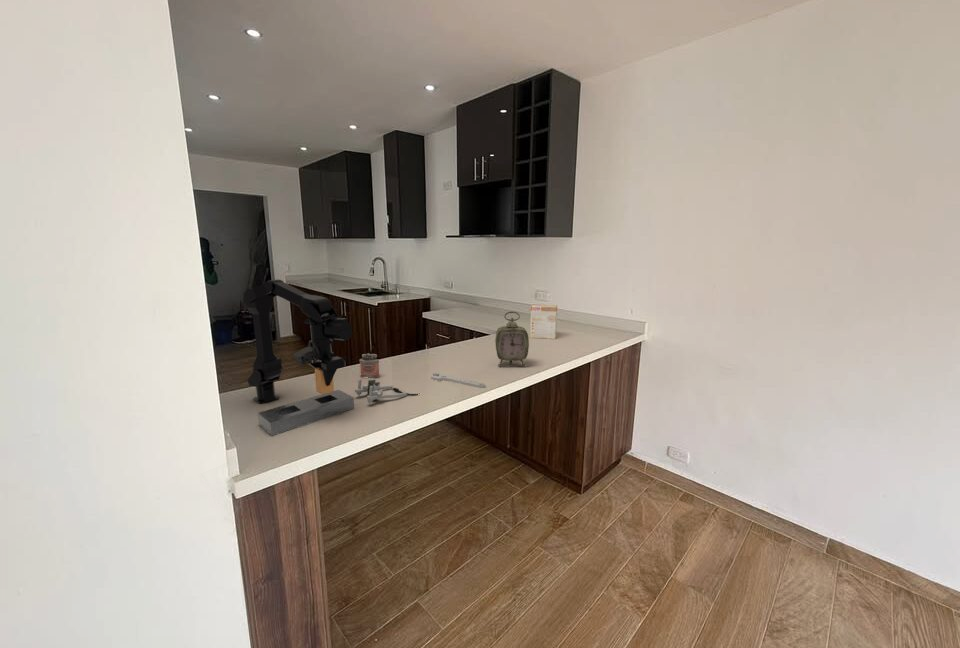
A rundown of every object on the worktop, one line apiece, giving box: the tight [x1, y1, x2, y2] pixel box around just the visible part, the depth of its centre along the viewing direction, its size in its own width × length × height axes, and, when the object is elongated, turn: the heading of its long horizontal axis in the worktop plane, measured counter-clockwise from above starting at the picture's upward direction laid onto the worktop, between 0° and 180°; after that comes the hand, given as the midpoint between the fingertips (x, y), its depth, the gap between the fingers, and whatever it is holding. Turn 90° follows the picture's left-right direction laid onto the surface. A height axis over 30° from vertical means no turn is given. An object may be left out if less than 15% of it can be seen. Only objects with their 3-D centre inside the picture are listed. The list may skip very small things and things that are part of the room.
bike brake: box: [354, 378, 419, 404], centre depth 140 cm, size 14×7×20 cm
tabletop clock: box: [494, 311, 530, 368], centre depth 174 cm, size 14×9×25 cm, turn 91°
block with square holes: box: [257, 389, 355, 436], centre depth 123 cm, size 10×26×4 cm, turn 138°
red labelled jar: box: [359, 353, 381, 379], centre depth 159 cm, size 8×3×10 cm, turn 83°
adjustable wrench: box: [430, 372, 486, 389], centre depth 154 cm, size 25×6×2 cm, turn 56°
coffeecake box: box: [529, 303, 558, 340], centre depth 229 cm, size 15×7×20 cm, turn 74°
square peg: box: [314, 366, 335, 395], centre depth 125 cm, size 4×4×8 cm
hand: (324, 384), depth 125 cm, fingers closed on square peg, 4 cm apart
